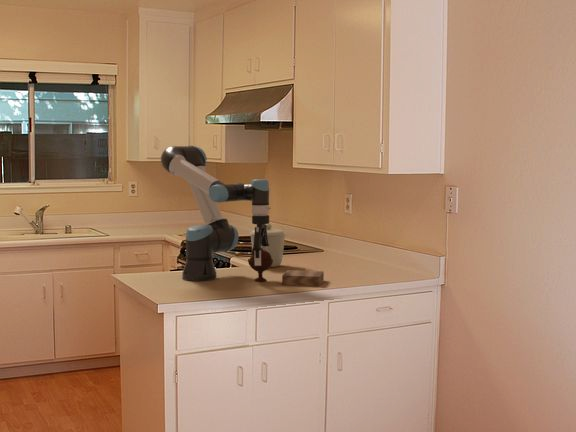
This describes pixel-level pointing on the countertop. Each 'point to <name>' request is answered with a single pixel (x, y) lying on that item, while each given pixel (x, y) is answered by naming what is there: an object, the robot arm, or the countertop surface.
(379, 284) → the countertop surface
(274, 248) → the canister
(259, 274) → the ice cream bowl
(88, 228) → the countertop surface
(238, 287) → the countertop surface
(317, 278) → the walnut base
